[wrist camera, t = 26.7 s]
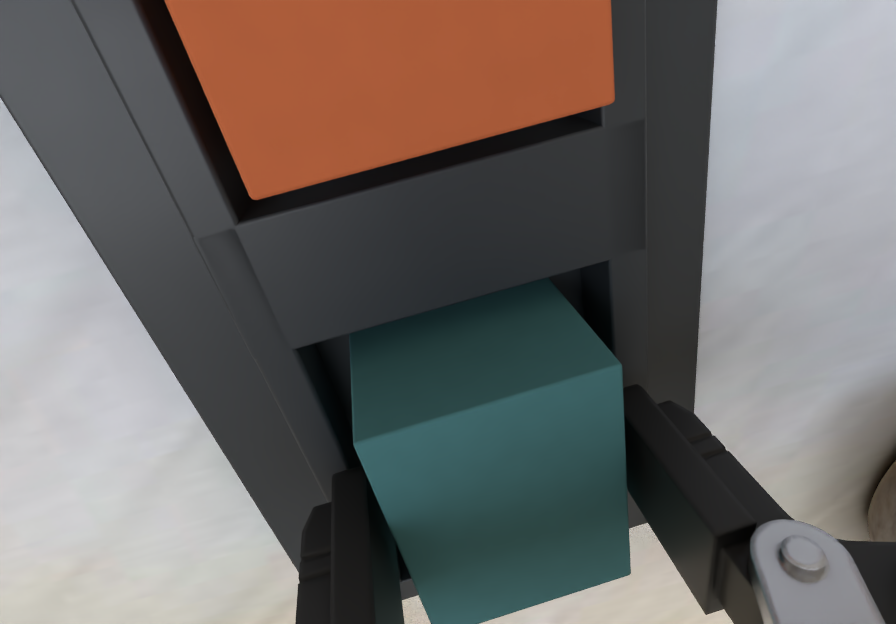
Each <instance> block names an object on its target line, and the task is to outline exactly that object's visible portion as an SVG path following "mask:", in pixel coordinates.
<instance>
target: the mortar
mask: <svg viewBox="0 0 896 624" xmlns="http://www.w3.org/2000/svg"><path fill="white" fill-rule="evenodd" d="M867 523H868V532H869V537H870V541H871V542H896V460H895V462H894V463H893V464H892V465H891V467H890V468H889V469H888V471H887V473H886V474H885V475H884V477H883V478H882V480H881V481H880V483H879V485H878V487H877V489H876V491H875V493H874V495H873V498H872V500H871V503H870V507H869V510H868V518H867Z"/></svg>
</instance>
